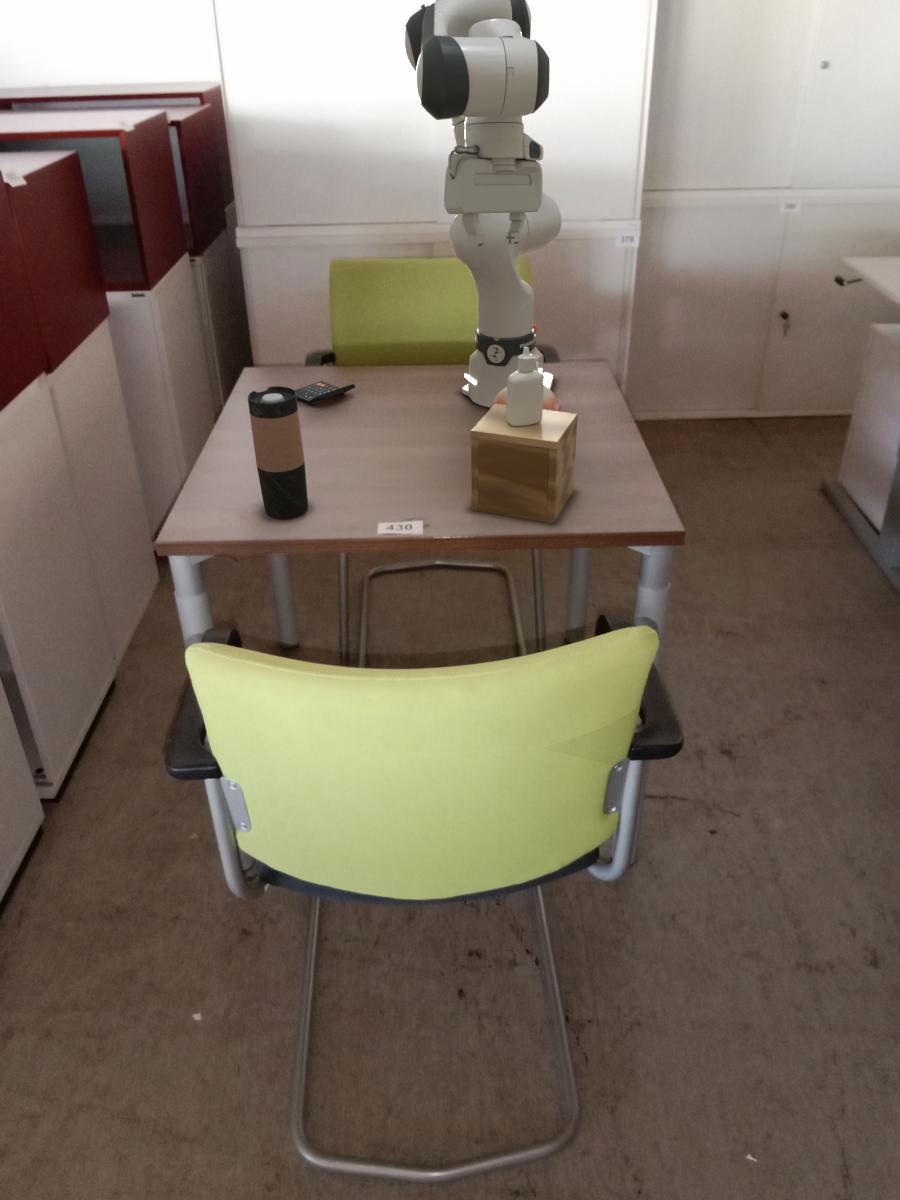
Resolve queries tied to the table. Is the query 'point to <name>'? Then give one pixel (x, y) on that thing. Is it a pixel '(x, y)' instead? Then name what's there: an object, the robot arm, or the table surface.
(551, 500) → the plywood crate
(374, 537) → the table surface
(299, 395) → the calculator
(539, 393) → the eye dropper bottle
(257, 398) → the travel mug
